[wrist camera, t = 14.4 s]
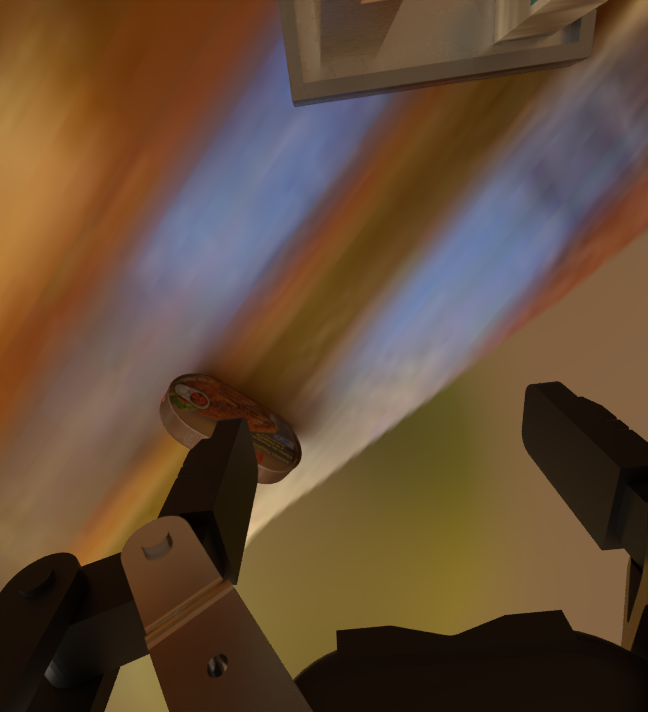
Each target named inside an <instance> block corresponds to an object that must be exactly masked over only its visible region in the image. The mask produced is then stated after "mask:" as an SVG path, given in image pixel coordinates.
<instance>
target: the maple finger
mask: <svg viewBox="0 0 648 712" xmlns="http://www.w3.org/2000/svg"><path fill="white" fill-rule="evenodd" d="M606 1H608V0H496V14H495V39H494V44H496V43H503V42H509V41H516V40H523V39H529V38H536V37H542V36H549V35H553V34H554V33H556V32H558V31H559V30H561V29H562V28H564V27H566V26H567V25H569V24H571V23H572V22H574V21H575V20H577V19H579V18H580V17H582V16H584V15H585V14H587V13H588V12H590V11H592V10H593V9H595V8H597V7H598V6H600V5H601V4H603V3H605V2H606Z"/></svg>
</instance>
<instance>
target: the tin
mask: <svg viewBox="0 0 648 712" xmlns="http://www.w3.org/2000/svg"><path fill="white" fill-rule="evenodd" d="M160 417H161V420H162V423H163V425H164V427H165V428H166V430H167V431H168V433H169V434H170V435H171V436H172V437H173V438H174V439H175V440H177V441H178V442H179V443H181V444H182V445H184V446H186V447H188V448H189V449H192V448H193V447H194V446H195V445H196V444H197V443H198V442H199V441H200V440H201V439H206V438H211V436H212V434H213V431H214V429H215V426H216V424H217V422H218V420H221V419H229V418H238V417H245V418H246V419H247V422H248V425H249V429H250V433H251V437H252V441H253V445H254V450H255V454H256V458H257V463H258V482H257V483H261V484H273V483H277V482H279V481H281V480H282V479H283V478H285V477H286V476H287V475H288V474H289V473H290V472H291V471H292V470H293V469H294V468H296V467H297V466H298V464H299V463H300V460H301V456H302V451H301V445H300V442H299V440H298V438H297V436H296V434H295V432H294V431H293V430H292V428H291V427H290V426H289V425H288V424H287V423H286V422H285V421H284V420H283V419H282V418H281V417H279V416H278V415H277V414H275V413H273V412H272V411H270V410H268V409H266V408H265V407H263V406H261V405H260V404H258V403H256V402H254V401H253V400H251V399H249V398H247V397H246V396H244V395H242V394H241V393H239V392H237V391H236V390H234V389H232V388H230V387H229V386H227V385H225V384H224V383H222V382H220V381H218V380H216V379H214V378H212V377H209V376H206V375H201V374H185V375H181V376H179V377H177V378H176V379H174V380H173V381H172V383H171V384H170V386H169V389H168V391H167V392H166V394H165V395H164V397H163V399H162V401H161V404H160Z"/></svg>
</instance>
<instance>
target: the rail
mask: <svg viewBox="0 0 648 712" xmlns="http://www.w3.org/2000/svg"><path fill="white" fill-rule="evenodd" d="M279 8H280V15H281V22H282V30H283V37H284V44H285V51H286V59H287V66H288V73H289V81H290V88H291V95H292V102H293V105H294V107H297V106H304V105H311V104H317V103H324V102H331V101H338V100H344V99H351V98H358V97H365V96H371V95H378V94H385V93H392V92H399V91H405V90H412V89H419V88H426V87H432V86H439V85H446V84H453V83H459V82H466V81H473V80H480V79H486V78H493V77H500V76H507V75H513V74H520V73H527V72H534V71H540V70H547V69H554V68H561V67H567V66H571V65H573V64H576V63H578V62H580V61H582V60H585V59H587V58H589V57H591V54H592V46H593V38H594V29H595V21H596V13H597V8H595V9H593V10H592V11H590V12H588V13H587V14H585V15H584V16H582V17H580V18H579V19H577V20H575V21H574V22H572V23H571V24H569V25H567V26H566V27H564V28H562V29H561V30H559V31H558V32H556V33H554V34H553V35H549V36H542V37H536V38H529V39H523V40H516V41H509V42H503V43H496V44H494V39H495V14H496V0H279Z"/></svg>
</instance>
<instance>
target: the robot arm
mask: <svg viewBox="0 0 648 712" xmlns="http://www.w3.org/2000/svg"><path fill="white" fill-rule="evenodd" d="M522 439H523V443H524V446H525V448H526V450H527V452H528V454H529V455H530V456H531V458H532V459H533V460H534V462H535V463H536V464H537V466H538V467H539V468H540V470H541V471H542V472H543V473H544V475H545V476H546V477H547V479H548V480H549V481H550V483H551V484H552V485H553V487H554V488H555V489H556V491H557V492H558V493H559V494H560V496H561V497H562V498H563V500H564V501H565V502H566V504H567V505H568V506H569V508H570V509H571V510H572V511H573V513H574V514H575V516H576V517H577V518H578V520H579V521H580V522H581V523H582V525H583V526H584V527H585V529H586V530H587V531H588V533H589V534H590V535H591V537H592V538H593V539H594V540H595V542H596V543H597V545H598V546H599V547H600V549H601V550H611V549H622V548H624V549H625V550H626V551H627V552H628V554H629V555H630V557H629V561H628V565H627V576H626V589H625V604H624V618H623V633H622V641H621V647H620V646H618V645H616V644H614V643H612V642H610V641H607V640H604V639H602V638H599V637H597V636H593V635H590V634H586V633H583V632H579V631H574V630H572V628H571V626H570V624H569V622H568V621H567V619H566V617H565V615H564V613H563V612H562V610H555V611H545V612H534V613H522V614H512V615H504V616H502V617H499V618H497V619H494V620H492V621H489V622H487V623H484V624H482V625H479V626H477V627H474V628H472V629H470V630H467V631H465V632H462V633H460V634H457V635H452V636H448V635H441V634H435V633H430V632H424V631H418V630H412V629H407V628H402V627H396V626H380V627H370V628H360V629H348V630H338V631H336V633H337V650H336V651H333V652H331V653H329V654H327V655H325V656H323V657H321V658H319V659H318V660H316V661H314V662H313V663H312V664H311V665H309V666H308V667H306V668H305V669H304V670H303V671H302V672H300V674H298V675H297V676H296V677H295V679H292V677H291V676H290V675H289V673H288V671H287V670H286V668H285V667H284V665H283V663H282V662H281V660H280V659H279V657H278V655H277V654H276V652H275V651H274V649H273V648H272V646H271V644H270V643H269V641H268V640H267V638H266V636H265V635H264V633H263V632H262V630H261V629H260V627H259V626H258V624H257V622H256V621H255V619H254V618H253V616H252V614H251V613H250V611H249V610H248V608H247V606H246V605H245V603H244V602H243V600H242V599H241V597H240V595H239V594H238V592H237V591H236V589H235V588H234V586H233V585H237V581H238V576H239V571H240V566H241V561H242V557H243V552H244V547H245V542H246V537H247V532H248V527H249V522H250V517H251V512H252V507H253V502H254V497H255V492H256V487H257V482H258V463H257V458H256V454H255V450H254V445H253V441H252V437H251V433H250V429H249V425H248V422H247V419H246V418H245V417H238V418H229V419H221V420H218V422H217V424H216V426H215V429H214V431H213V434H212V436H211V438H206V439H201V440H200V441H199V442H198V443H197V444H196V445H195V446H194V447H193V448H192V449H191V450H190V451H189V453H188V455H187V457H186V459H185V461H184V463H183V467H181V469H180V472H179V474H178V478H177V479H176V480H175V482H174V484H173V486H172V488H171V490H170V493H169V495H168V497H167V499H166V501H165V503H164V505H163V507H162V509H161V512H160V514H159V516H158V518H157V519H155V520H152V521H150V522H148V523H146V524H145V525H143V526H142V527H140V528H139V529H138V530H136V531H135V532H134V533H133V534H132V535H131V536H130V537H129V539H128V540H127V541H126V543H125V545H124V547H123V549H122V552H120V553H117V554H115V555H112V556H109V557H107V558H104V559H101V560H98V561H96V562H93V563H90V564H87V565H85V566H82V567H81V565H80V563H79V561H78V560H77V558H76V557H75V556H74V555H73V554H70V553H55V554H51V555H48V556H45V557H43V558H41V559H39V560H37V561H35V562H33V563H31V564H30V565H28V566H27V567H25V568H24V569H22V570H21V571H20V572H19V573H17V574H16V575H15V576H14V577H13V578H12V579H11V580H10V581H9V582H8V583H7V584H6V586H5V587H4V588H3V590H2V591H1V592H0V712H104V711H105V708H106V706H107V703H108V700H109V697H110V695H111V692H112V689H113V686H114V683H115V680H116V678H117V675H118V672H119V669H120V666H123V665H125V664H127V663H129V662H132V661H134V660H136V659H139V658H141V657H143V656H145V655H148V654H150V657H151V660H152V663H153V666H154V668H155V671H156V674H157V677H158V680H159V683H160V686H161V689H162V692H163V695H164V698H165V701H166V704H167V707H168V710H169V712H648V442H647V441H645V440H644V439H643V438H642V437H640V436H639V435H638V434H637V433H635V432H634V431H633V430H629V427H628V426H627V425H626V424H624V423H623V422H622V421H621V420H617V418H616V416H614V415H613V414H612V413H611V412H609V411H608V410H607V409H606V408H604V407H603V406H602V405H600V404H597V403H595V402H593V401H591V400H588V399H586V398H584V397H577V396H576V395H575V394H574V393H573V392H572V391H570V390H569V389H568V388H567V387H566V386H564V385H563V384H562V383H561V382H557V381H556V382H547V383H538V384H530V385H528V387H527V388H526V392H525V402H524V413H523V423H522Z"/></svg>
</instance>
